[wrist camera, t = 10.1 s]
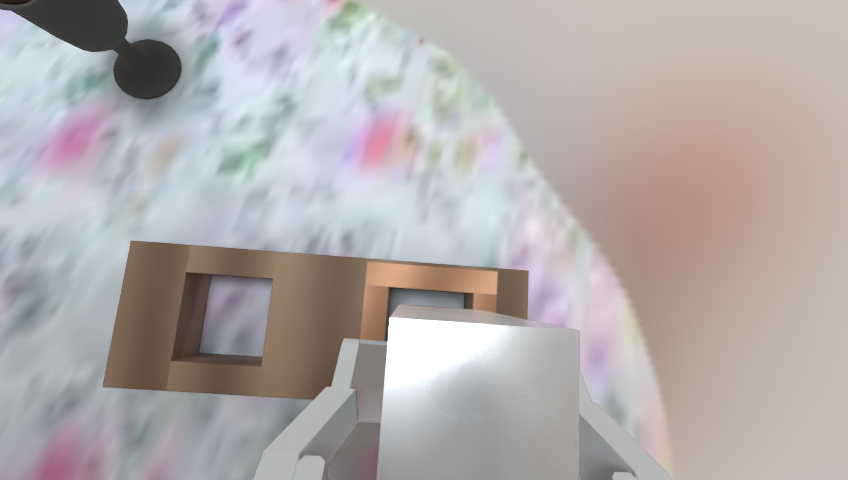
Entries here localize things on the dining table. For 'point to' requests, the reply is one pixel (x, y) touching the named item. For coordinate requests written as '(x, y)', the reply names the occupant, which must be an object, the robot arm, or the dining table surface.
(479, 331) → the steel post
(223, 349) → the dining table surface
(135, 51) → the sundae
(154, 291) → the walnut rail
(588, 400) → the robot arm
